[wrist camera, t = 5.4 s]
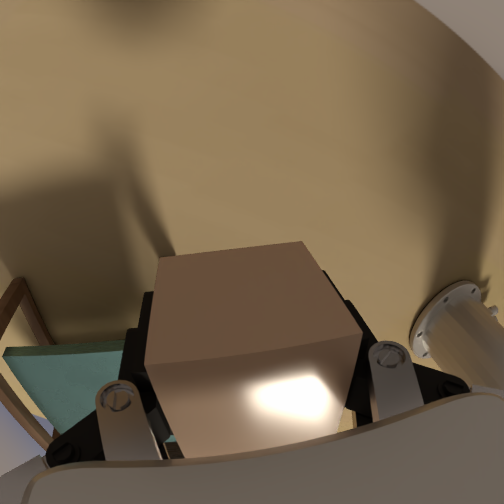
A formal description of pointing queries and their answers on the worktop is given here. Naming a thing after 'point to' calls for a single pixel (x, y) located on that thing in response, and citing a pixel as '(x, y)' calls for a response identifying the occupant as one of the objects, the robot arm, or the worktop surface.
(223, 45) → the worktop surface
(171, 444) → the chair seat and backrest
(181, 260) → the pinkish beige cube
